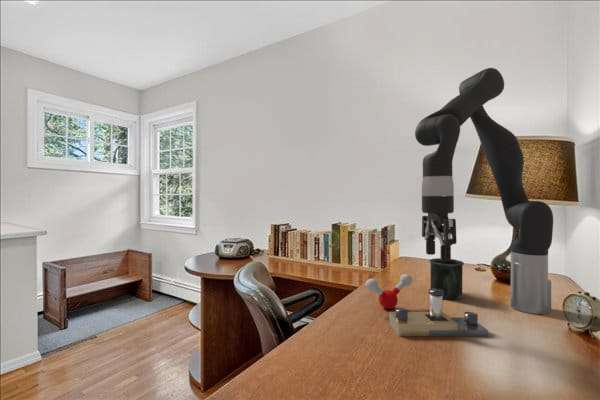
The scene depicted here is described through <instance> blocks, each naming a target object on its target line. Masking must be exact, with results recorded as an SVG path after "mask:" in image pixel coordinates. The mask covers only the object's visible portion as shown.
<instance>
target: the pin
mask: <svg viewBox="0 0 600 400" xmlns="http://www.w3.org/2000/svg"><path fill="white" fill-rule="evenodd" d="M428 294H429V312H430V320H431V321H442V312H443V299H442V296H443V295H444V291H443V290H440V289H430V288H429V289H428Z"/></svg>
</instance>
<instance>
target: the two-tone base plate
mask: <svg viewBox="0 0 600 400" xmlns="http://www.w3.org/2000/svg"><path fill="white" fill-rule="evenodd" d="M388 317H389V318H388V320H389V321H388V323H389V324H390V326H391V328H393V330H394V332H395V333H396V334H397V336H398V337H400V336H401V337H488V336H489V330H488V329H487V328H486V327H485V326H483V325H481V324H480V323H479V322H478V321H479V320H478V318H479V316H478V314H477V313H476V312H472V311H465V312H464V317H449V315H447V314H446V313H445V312H444V311H442V321H431V320H430V311H408V309H407V308H404V307H396V308H395V311H389V313H388Z"/></svg>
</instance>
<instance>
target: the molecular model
mask: <svg viewBox="0 0 600 400" xmlns="http://www.w3.org/2000/svg"><path fill="white" fill-rule="evenodd" d="M412 283H413V278H412V277H411V275H410V274H407V273H404V274H402V275H401V276H400V277H399V282H398V284H396V286H395V287H394V288H393V289H392V290H390V289H384V290H383V289H381V288H380V286H379V282H378V281H377V280H376V279H375V278H369V279H367V280H366V281H365V288H366V290H367V291H369V292H372V293H373V292H374V293H375V294H377V295H378V303H379V305H381V306H382V308H383V309H387V310H391V309H394V308H395V307H396V306H397V305H398V301H399V299H398V296H397V295H398V294H399V293H400V292H401V290H403V289H404V287H405V286H406V287H408V286H411V285H412Z"/></svg>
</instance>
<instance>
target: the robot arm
mask: <svg viewBox="0 0 600 400" xmlns="http://www.w3.org/2000/svg"><path fill="white" fill-rule="evenodd" d="M458 86H459V87H458V92H459V94H458V95H456V96H455V97H453V98H452V99H450V100H449V101H448V102H447V103H446V104H445V105H444V106H442V107H441V109H439V110H437V111H435V112H433V113H431V114H429V115H427V116H425V117H423V118H422V119H421V120H420V121H419V122H418V124H417V125H416V127H415V130H414V137H415V139H416V141H417V142H418V144H420V145H421V146H425V147H428V146H429V147H430V146H436V145H438V147H437V149H436V150H434V151H433V152H432V153H429V154H426V155H425V156H424V157H423V158H422V180H421V181H422V182H421V211H422V213H423V214H427V215H422V216H421V219H422V220H421V237H422V238H424V241H425V253H426V255H431V256H432V255H435V254H436V238H437V239H438V240H439V243H440V248H439V249H440V258H441V260H442V261H450V260H451V259H452V252H451V251H452V246H453V245H456V244H457V220H456V218H449V214H453V213H454V212H455V211H454V209H455V208H454V207H455V206H454V205H455V204H454V203H455V201H454V199H455V198H454V197H455V193H454V192H455V191H454V181H453V180H454V179H453V160H454V159H453V158H454V155H455V152H456V148H457V144H458V142H459V139H460V138H459V137H460V134H461V127H462V126H463V124H465V123H466V121H467V120H469V118H470V120H471V122H472V124H473V126H474V129H475V131H476V133H477V136H478V138H479V141H480V144H481V147H482V150H483V153H484V155H485V159H486V160H487V163H488V165H489V168H490V170H491V173H492V175H493V178H494V181H495V184H496V187H497V190H498V192H499V196H500V199H501V204H502V208H503V211H504V217H505V219H506V221H507V222H508V224H509V225H510V226H511V227H513V228H514V229H517V230H519V236H518V238H517V239H516V240H515V241H513V242H511V245H510V296H509V297H510V302H509V304H510V307H511V308H512V309H514V310H516V311H521V312H523V313H528V314H535V315H536V314H537V315H543V314H547V313H552V280H551V279H549V249H550V248H551V246H552V242H553V233H554V214H553V210H552V208H551V207H550V206H549V204H547V203H545V202H544V201H541V200H540V201H539V200H529V198H528V195H527V193H526V191H525V188H524V184H523V173H524V172H523V171H524V165H525V164H524V162H525V160H524V158H525V157H524V154H523V151H522V148H521V145H520V144H519V140H518V138H517V136H516V135H515V134H514V133H513V132H512V131H510V130H509V129H507V128H506V127H505V126H503V125H501V124H500V123H498V122H496V121H495V120H494V119H492V117H491V116H489V114H488V112H487V111H486V109H485V107H484V105H485V104H486V103H488V102H489V101H491V100H494V99H495V98H497V97H499V96H500V95H502V93H503V91H504V89H505V80H504V77H503V75H502V73H501V72H500V71H499V70H498V69H497V68H494V67H487V68H485V69H482V70H481V71H479V72H476V73H475V74H473V75H471V76H470V77H468V78H466V79H464V80H462V81H461V82H460V83H459V85H458Z"/></svg>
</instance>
